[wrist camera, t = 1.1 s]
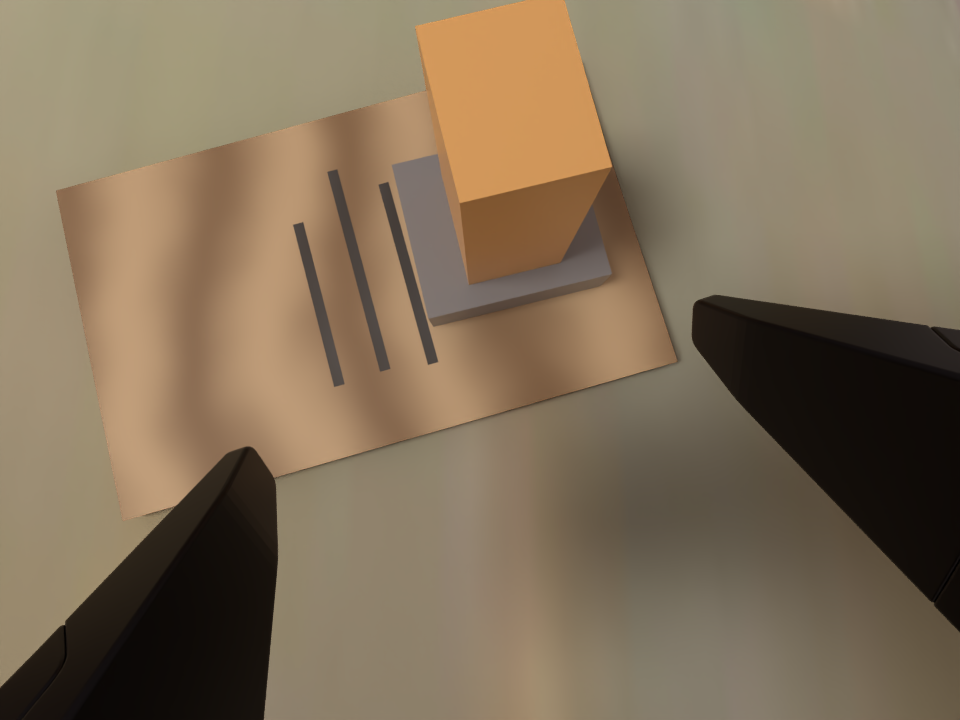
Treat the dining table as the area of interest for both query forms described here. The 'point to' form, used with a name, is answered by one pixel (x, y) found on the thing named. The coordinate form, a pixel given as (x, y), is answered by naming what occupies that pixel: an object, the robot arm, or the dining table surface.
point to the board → (312, 308)
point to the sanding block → (505, 164)
